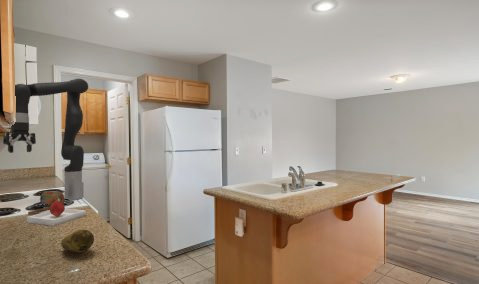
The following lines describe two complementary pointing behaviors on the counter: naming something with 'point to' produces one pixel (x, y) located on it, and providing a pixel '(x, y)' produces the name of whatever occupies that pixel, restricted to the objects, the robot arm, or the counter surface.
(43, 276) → the counter surface
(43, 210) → the collar
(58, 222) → the tray
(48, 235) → the counter surface
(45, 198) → the tin
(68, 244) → the potato
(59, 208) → the red rounded lump
